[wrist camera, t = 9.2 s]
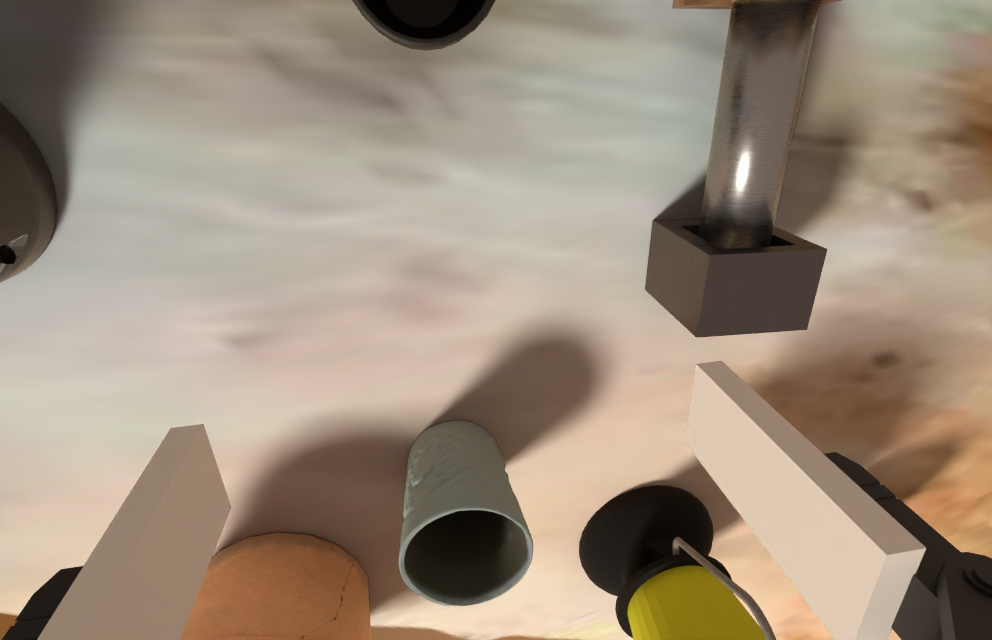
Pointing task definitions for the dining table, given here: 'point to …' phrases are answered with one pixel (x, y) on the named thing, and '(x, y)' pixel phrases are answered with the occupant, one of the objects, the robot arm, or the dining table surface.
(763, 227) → the tube
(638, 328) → the dining table surface
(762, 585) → the dining table surface
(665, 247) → the sleeve
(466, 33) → the mug
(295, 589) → the pottery
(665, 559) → the lantern
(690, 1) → the socket
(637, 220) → the dining table surface
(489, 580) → the grey green textured cup
